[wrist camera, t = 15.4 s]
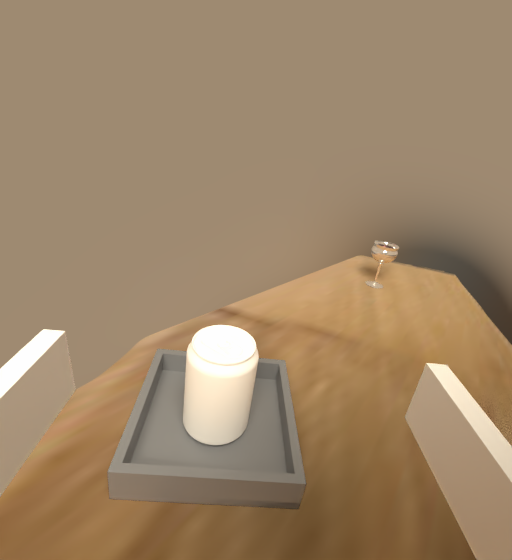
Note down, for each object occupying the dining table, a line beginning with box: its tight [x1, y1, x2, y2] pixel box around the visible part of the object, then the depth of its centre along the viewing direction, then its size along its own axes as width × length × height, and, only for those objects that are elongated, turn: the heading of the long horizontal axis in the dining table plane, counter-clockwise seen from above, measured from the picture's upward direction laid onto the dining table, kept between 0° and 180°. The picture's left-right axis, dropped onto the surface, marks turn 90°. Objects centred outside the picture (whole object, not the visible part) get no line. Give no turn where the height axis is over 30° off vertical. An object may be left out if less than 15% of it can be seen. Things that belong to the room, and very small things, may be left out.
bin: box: [108, 349, 306, 509], centre depth 41 cm, size 19×19×4 cm
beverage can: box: [183, 325, 259, 445], centre depth 39 cm, size 8×8×12 cm
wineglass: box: [365, 241, 399, 288], centre depth 91 cm, size 7×7×12 cm
